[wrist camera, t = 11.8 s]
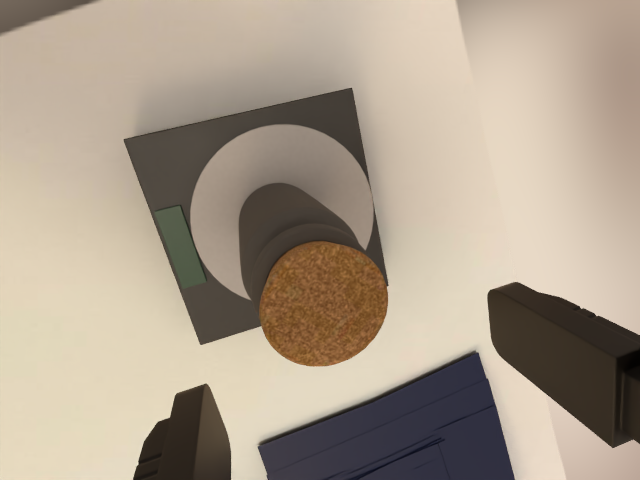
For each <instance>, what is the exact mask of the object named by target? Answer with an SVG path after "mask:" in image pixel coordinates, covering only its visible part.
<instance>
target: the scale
mask: <svg viewBox="0 0 640 480" xmlns="http://www.w3.org/2000/svg"><path fill="white" fill-rule="evenodd" d="M124 143H125V145H126V148H127V151H128V153H129V156H130V159H131V161H132V164H133V167H134V169H135V172H136V175H137V177H138V180H139V183H140V185H141V188H142V191H143V193H144V196H145V199H146V201H147V204H148V207H149V209H150V212H151V215H152V217H153V220H154V223H155V225H156V228H157V231H158V233H159V236H160V239H161V241H162V244H163V246H164V249H165V252H166V254H167V257H168V260H169V262H170V265H171V268H172V270H173V273H174V276H175V278H176V281H177V284H178V286H179V289H180V292H181V294H182V297H183V300H184V302H185V305H186V308H187V310H188V313H189V316H190V318H191V321H192V324H193V326H194V329H195V332H196V334H197V337H198V340H199V342H200V345H203V344H206V343H209V342H212V341H215V340H218V339H222V338H225V337H228V336H231V335H234V334H237V333H241V332H244V331H247V330H250V329H253V328H257V327H260V326H261V323H260V320H259V318H258V316H257V314H256V312H255V309H254V307H253V302H252V301H251V299H250V298H249V296H248V294H247V292H246V290H245V288H244V285H243V281H242V276H241V267H240V253H239V215H240V211H241V208H242V206H243V204H244V202H245V201H246V199H247V198H248V197H249V196H250V195H251V194H252V193H253V192H254V191H256V190H257V189H258V188H260V187H262V186H265V185H267V184H272V183H286V184H290V185H293V186H296V187H298V188H300V189H301V190H303V191H304V192H306V193H307V194H309V195H310V196H312V197H313V198H315V199H316V200H317V201H319V202H320V203H322V204H323V205H324V206H326V207H327V208H328V209H330V210H331V211H332V212H334V213H335V214H336V215H337V216H339V217H340V218H341V219H342V220H344V221H345V222H346V224H347V225H348V226H349V227H350V228H351V229H352V231H353V232H354V234H355V236H356V238H357V239H358V242H359V244H360V245H361V246H362V247H363V248H364V249H365V251H366V253H367V254H368V256H369V258H370V259H371V260H372V261H373V262H374V263H375V265H376V266H377V267H378V268H379V270H380V271H381V273H382V275H383V278H384V280H385V283H386V286H388V280H387V275H386V269H385V264H384V258H383V253H382V247H381V242H380V237H379V231H378V226H377V220H376V215H375V209H374V204H373V199H372V193H371V188H370V182H369V177H368V171H367V166H366V161H365V155H364V150H363V144H362V139H361V133H360V128H359V123H358V117H357V112H356V106H355V101H354V96H353V90H352V88H349V89H344V90H340V91H335V92H331V93H326V94H322V95H318V96H313V97H309V98H304V99H300V100H295V101H291V102H287V103H282V104H278V105H273V106H269V107H264V108H260V109H256V110H251V111H247V112H242V113H238V114H234V115H229V116H225V117H220V118H216V119H211V120H207V121H203V122H198V123H194V124H189V125H185V126H180V127H176V128H172V129H167V130H163V131H158V132H154V133H149V134H145V135H141V136H136V137H132V138H127V139H124Z"/></svg>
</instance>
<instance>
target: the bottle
mask: <svg viewBox="0 0 640 480" xmlns="http://www.w3.org/2000/svg"><path fill="white" fill-rule="evenodd" d="M239 253H240V267H241V276H242V281H243V285H244V288H245V290H246V292H247V294H248V296H249V298H250V299H251V301H252V302H253V307H254V309H255V312H256V314H257V316H258V318H259V320H260V323H261V326H262V329H263V332H264V334H265V337H266V338H267V340H268V341H269V343H270V345H271V346H272V347H273V348H274V349H275V350H276V351H277V352H278V353H279V354H281V355H282V356H283V357H285V358H287V359H288V360H290V361H292V362H295V363H298V364H302V365H306V366H329V365H334V364H337V363H340V362H343V361H345V360H348V359H350V358H352V357H353V356H355V355H357V354H358V353H359V352H361V351H362V350H363V349H365V348H366V347H367V346H368V344H369V343H370V342H371V341H372V340H373V339H374V338H375V336H376V335H377V333H378V332H379V330H380V328H381V326H382V324H383V322H384V319H385V316H386V312H387V306H388V292H387V286H386V283H385V280H384V278H383V275H382V273H381V271H380V270H379V268H378V267H377V266H376V265H375V263H374V262H373V261H372V260H371V259H370V258H369V256H368V254H367V253H366V251H365V249H364V248H363V247H362V246H361V245H360V244H359V242H358V239H357V238H356V236H355V234H354V232H353V231H352V229H351V228H350V227H349V226H348V225H347V224H346V222H345V221H344V220H342V219H341V218H340V217H339V216H337V215H336V214H335V213H334V212H332V211H331V210H330V209H328V208H327V207H326V206H324V205H323V204H322V203H320V202H319V201H317V200H316V199H315V198H313V197H312V196H310V195H309V194H307V193H306V192H304V191H303V190H301V189H300V188H298V187H296V186H293V185H290V184H286V183H272V184H267V185H265V186H262V187H260V188H258V189H257V190H256V191H254V192H253V193H252V194H251V195H250V196H249V197H248V198H247V199H246V201H245V202H244V204H243V206H242V208H241V211H240V215H239Z"/></svg>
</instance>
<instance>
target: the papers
mask: <svg viewBox="0 0 640 480" xmlns="http://www.w3.org/2000/svg"><path fill="white" fill-rule="evenodd" d="M258 449H259V452H260V455H261V458H262V460H263V463H264V466H265V469H266V471H267V474H268V475H267V478H268V480H515V478H514V474H513V470H512V467H511V463H510V459H509V455H508V451H507V447H506V443H505V439H504V435H503V432H502V428H501V424H500V420H499V416H498V412H497V408H496V405H495V402H494V399H493V395H492V392H491V388H490V385H489V381H488V378H487V379H486V376H485V373H484V369H483V366H482V363H481V360H480V357H479V353H476V354H474V355H472V356H469V357H467V358H465V359H463V360H461V361H459V362H457V363H455V364H453V365H451V366H448V367H446V368H444V369H442V370H440V371H438V372H436V373H434V374H432V375H430V376H427V377H425V378H423V379H421V380H419V381H417V382H415V383H413V384H411V385H409V386H406V387H404V388H402V389H400V390H398V391H396V392H394V393H392V394H390V395H387V396H385V397H383V398H381V399H379V400H377V401H375V402H373V403H370V404H367V405H365V406H362V407H360V408H357V409H354V410H352V411H349V412H347V413H344V414H341V415H339V416H336V417H334V418H331V419H328V420H326V421H323V422H321V423H318V424H315V425H313V426H310V427H308V428H305V429H302V430H300V431H297V432H295V433H292V434H289V435H287V436H284V437H282V438H279V439H276V440H274V441H271V442H269V443H266V444H263V445H261V446H258Z"/></svg>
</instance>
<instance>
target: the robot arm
mask: <svg viewBox="0 0 640 480" xmlns="http://www.w3.org/2000/svg"><path fill="white" fill-rule="evenodd" d="M487 299H488V310H489V321H490V332H491V339H492V343H493V345H494V347H495V349H496V351H497V352H498V354H499V355H500V356H501V357H502V358H503V359H504V360H505V361H506V362H507V363H509V364H510V365H511V366H512V367H514V368H515V369H516V370H517V371H519V372H520V373H521V374H522V375H523V376H525V377H526V378H527V379H528V380H530V381H531V382H532V383H533V384H535V385H536V386H537V387H538V388H539V389H541V390H542V391H543V392H544V393H546V394H547V395H548V396H550V397H551V398H552V399H553V400H554V401H556V402H557V403H558V404H559V405H560V406H562V407H563V408H564V409H565V410H567V411H568V412H569V413H570V414H572V415H573V416H574V417H575V418H577V419H578V420H579V421H580V422H582V423H583V424H584V425H585V426H586V427H588V428H589V429H590V430H591V431H592V432H594V433H595V434H596V435H597V436H599V437H600V438H601V439H602V440H603V441H605V442H606V443H607V444H608V445H610V446H611V447H612V448H614V447H617V446H619V445H621V444H624V443H626V442H628V441H631V440H633V439H634V440H635V441H637V442H638V443H639V444H640V335H638V334H636V333H634V332H632V331H629V330H628V329H625V328H623V327H621V326H619V325H617V324H615V323H613V322H611V321H609V320H607V319H605V318H603V317H600V316H596V315H595V314H594V313H592V312H590V311H588V310H586V309H581V308H580V306H577V305H575V304H574V303H571V302H569V301H567V300H565V299H563V298H560V297H556V296H552V295H548V294H544V293H539V292H536V291H535V290H532V289H531V288H529V287H527V286H525V285H523V284H521V283H518V282H513V283H510V284H507V285H504V286H501V287H498V288H495V289H492V290H490V291H489V293H488V297H487ZM138 462H139V465H138V466H137V467H136V471H135V474H134V478H133V480H231V450H230V443H229V438H228V434H227V431H226V428H225V426H224V423H223V420H222V418H221V415H220V412H219V410H218V407H217V405H216V402H215V399H214V397H213V394H212V392H211V389H210V387H209V386H208V385H207V384H204V385H201V386H198V387H195V388H192V389H189V390H186V391H182V392H179V393H177V394H176V395H175V398H174V403H173V407H172V411H171V416H170V418H168V419H165V420H162V421H159V422H158V423H157V424H156V425H155V427H154V428H153V430H152V431H151V433H150V434H149V435H148V437H147V438H146V440H145V441H144V444H143V447H142V451H141V454H140V457H139V461H138Z"/></svg>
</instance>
